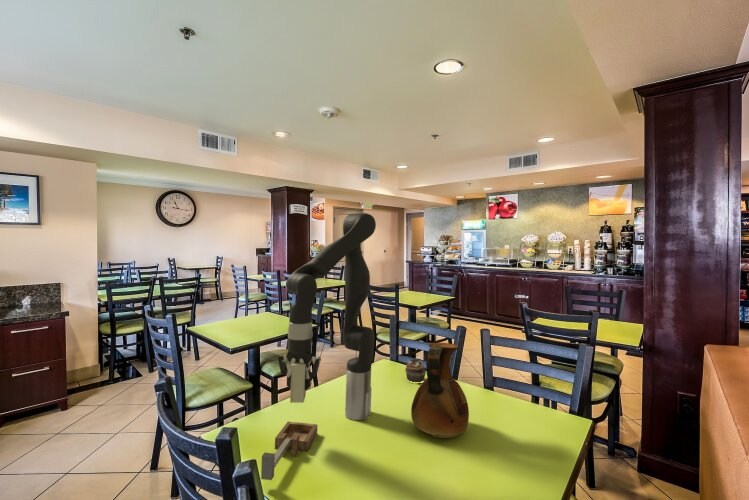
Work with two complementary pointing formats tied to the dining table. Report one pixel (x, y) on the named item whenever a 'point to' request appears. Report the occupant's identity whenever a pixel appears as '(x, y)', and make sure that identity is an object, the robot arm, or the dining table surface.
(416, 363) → the cupcake
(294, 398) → the skincare box
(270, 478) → the pin
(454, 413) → the ceramic pitcher
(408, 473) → the dining table surface
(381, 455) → the dining table surface
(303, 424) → the dock
